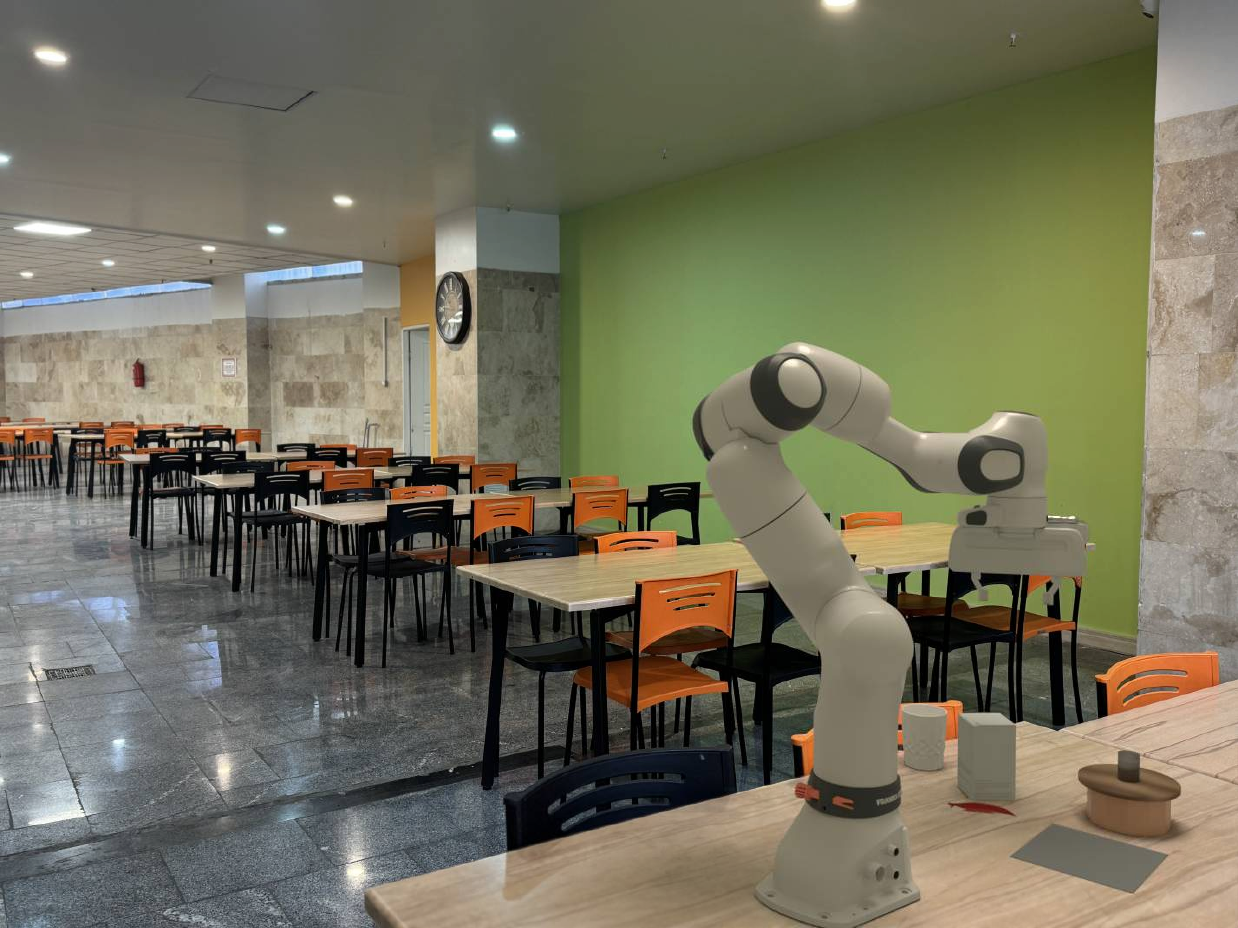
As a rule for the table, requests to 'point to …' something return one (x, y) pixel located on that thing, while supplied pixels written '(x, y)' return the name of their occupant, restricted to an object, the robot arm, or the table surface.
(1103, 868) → the mat
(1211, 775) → the table surface
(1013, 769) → the supplement box
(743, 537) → the robot arm
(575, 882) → the table surface
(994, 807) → the red feather
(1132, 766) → the lid
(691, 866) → the table surface
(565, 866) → the table surface
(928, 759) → the white cup
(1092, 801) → the bowl
